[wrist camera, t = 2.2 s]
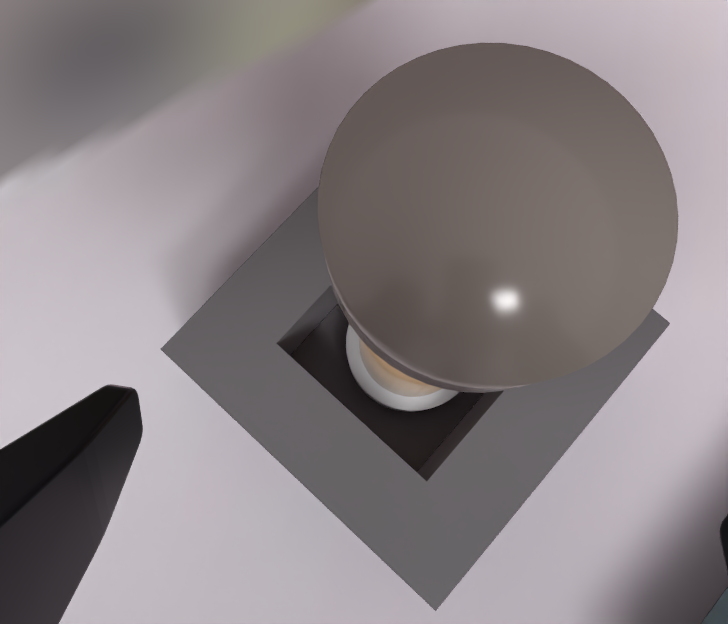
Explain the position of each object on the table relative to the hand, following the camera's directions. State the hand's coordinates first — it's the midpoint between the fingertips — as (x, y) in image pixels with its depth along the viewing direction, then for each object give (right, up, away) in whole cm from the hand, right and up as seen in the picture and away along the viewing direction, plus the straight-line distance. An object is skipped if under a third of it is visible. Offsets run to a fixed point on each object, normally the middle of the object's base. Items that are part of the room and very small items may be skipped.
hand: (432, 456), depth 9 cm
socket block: (0, +1, +11) cm, 11 cm away
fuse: (0, +1, +11) cm, 11 cm away
